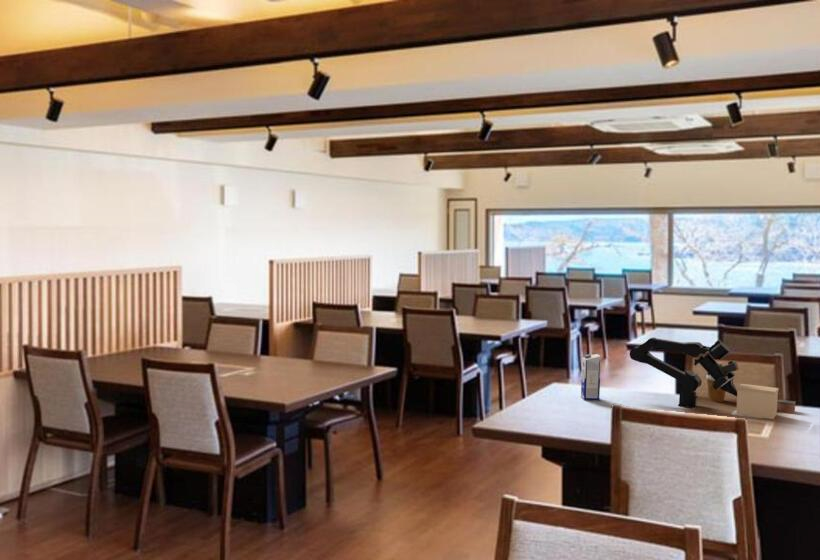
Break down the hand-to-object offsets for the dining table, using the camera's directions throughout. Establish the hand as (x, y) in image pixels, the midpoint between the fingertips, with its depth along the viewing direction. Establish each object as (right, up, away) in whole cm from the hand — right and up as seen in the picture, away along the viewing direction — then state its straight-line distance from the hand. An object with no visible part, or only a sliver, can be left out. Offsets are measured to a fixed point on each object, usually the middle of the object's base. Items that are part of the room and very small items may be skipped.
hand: (738, 395), depth 325 cm
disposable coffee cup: (0, -6, +23) cm, 24 cm away
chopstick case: (+16, -7, +8) cm, 19 cm away
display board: (+9, -8, -5) cm, 13 cm away
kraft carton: (+6, -7, -4) cm, 10 cm away
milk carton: (-57, -5, +22) cm, 61 cm away
